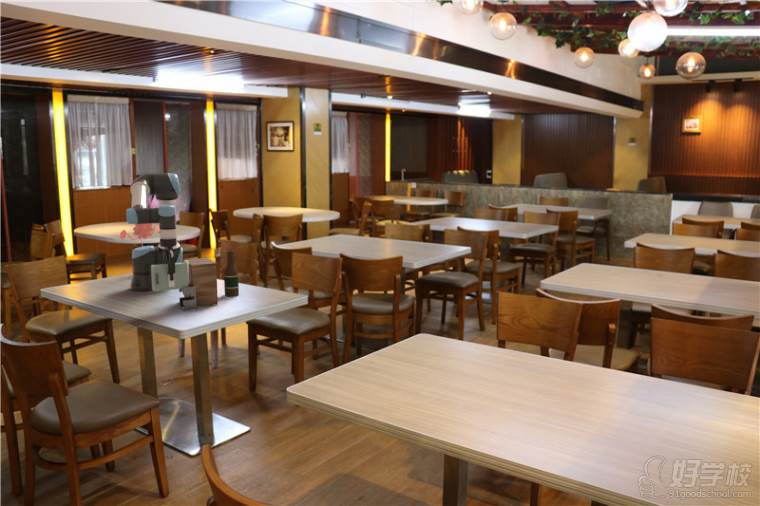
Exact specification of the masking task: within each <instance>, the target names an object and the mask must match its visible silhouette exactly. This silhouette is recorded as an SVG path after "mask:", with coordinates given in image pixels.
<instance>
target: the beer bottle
mask: <svg viewBox="0 0 760 506" xmlns="http://www.w3.org/2000/svg"><path fill="white" fill-rule="evenodd" d="M226 254H227V261H226V262H227V263H226V266H225V268H224V271H223V284H224V285H223V287H224V296H225V297H230V298H231V297H232V298H233V297H238V296H239V293H240V292H239V291H240V290H239V286H240V285H239V284H240V283H239V271H238V268H237V266H236V264H235V255H234V254H235V251H234V250H227V252H226Z"/></svg>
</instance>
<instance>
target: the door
mask: <svg viewBox="0 0 760 506" xmlns="http://www.w3.org/2000/svg"><path fill="white" fill-rule="evenodd" d="M167 273H168V264H159V265H151V276H152V290H151V291H153V292H162V291H171V290H179V289H183V288H182V287H189V268H188V261H184V262H182V263H175V273H174V283H175V287H168V274H167Z"/></svg>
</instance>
